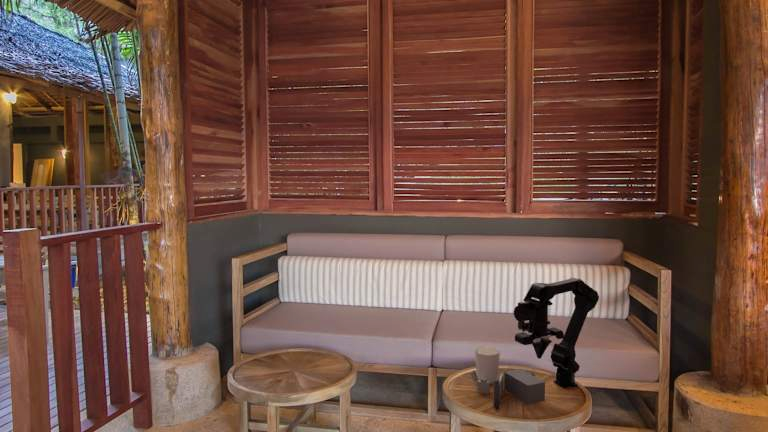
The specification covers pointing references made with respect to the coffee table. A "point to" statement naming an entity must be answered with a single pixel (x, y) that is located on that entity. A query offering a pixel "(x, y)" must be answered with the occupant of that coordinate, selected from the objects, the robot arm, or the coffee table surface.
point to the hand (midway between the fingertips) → (539, 358)
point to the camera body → (524, 386)
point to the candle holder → (487, 363)
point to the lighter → (481, 383)
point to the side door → (498, 390)
